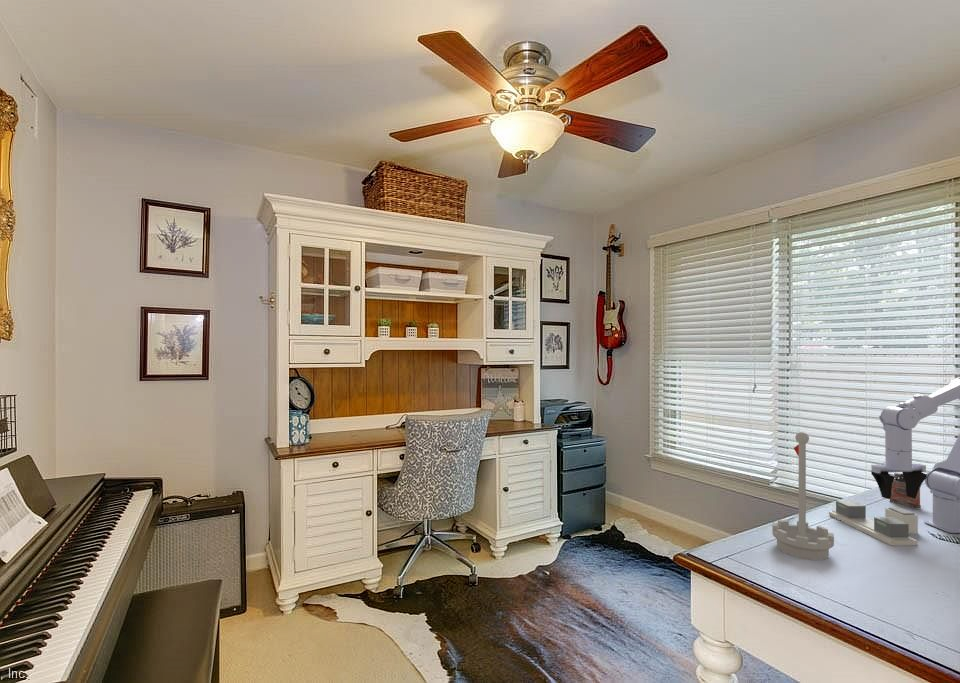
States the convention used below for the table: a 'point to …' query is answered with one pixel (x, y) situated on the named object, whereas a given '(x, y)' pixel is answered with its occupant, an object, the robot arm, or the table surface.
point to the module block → (903, 517)
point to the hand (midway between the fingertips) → (898, 497)
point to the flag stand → (802, 521)
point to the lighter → (903, 493)
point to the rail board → (873, 523)
